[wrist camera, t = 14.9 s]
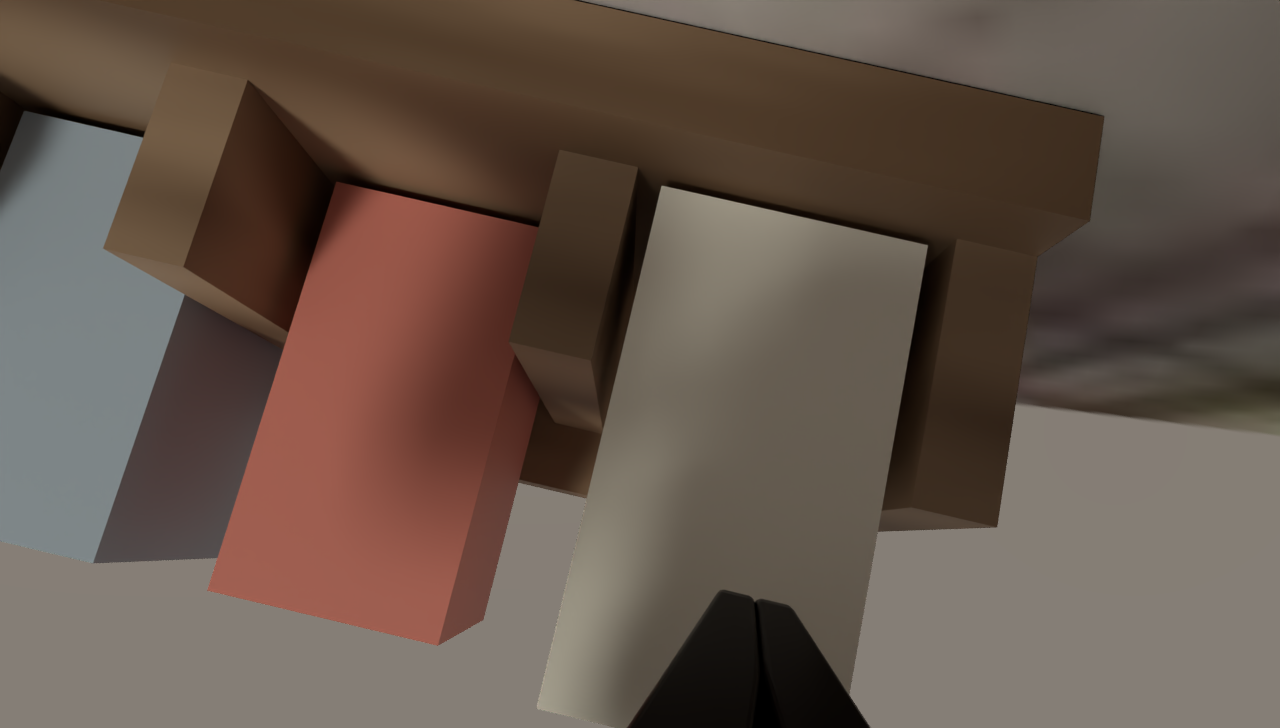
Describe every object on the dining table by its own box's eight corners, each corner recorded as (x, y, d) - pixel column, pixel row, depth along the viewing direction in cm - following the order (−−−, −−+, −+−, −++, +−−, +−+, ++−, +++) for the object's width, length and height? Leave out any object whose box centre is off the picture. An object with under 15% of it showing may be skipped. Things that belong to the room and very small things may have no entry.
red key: (336, 181, 17) (207, 590, 15) (547, 229, 16) (438, 645, 15) (401, 263, 21) (308, 578, 20) (564, 300, 21) (483, 619, 20)
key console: (-264, -184, 12) (-463, 216, 11) (1104, 117, 12) (1041, 566, 11) (175, 175, 25) (101, 384, 24) (860, 331, 24) (818, 552, 23)
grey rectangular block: (24, 110, 17) (-134, 508, 15) (232, 157, 17) (93, 562, 15) (159, 208, 22) (50, 516, 20) (320, 244, 22) (222, 557, 20)
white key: (661, 184, 13) (536, 708, 12) (928, 245, 13) (834, 780, 12) (650, 281, 18) (561, 659, 17) (844, 325, 18) (771, 709, 17)
